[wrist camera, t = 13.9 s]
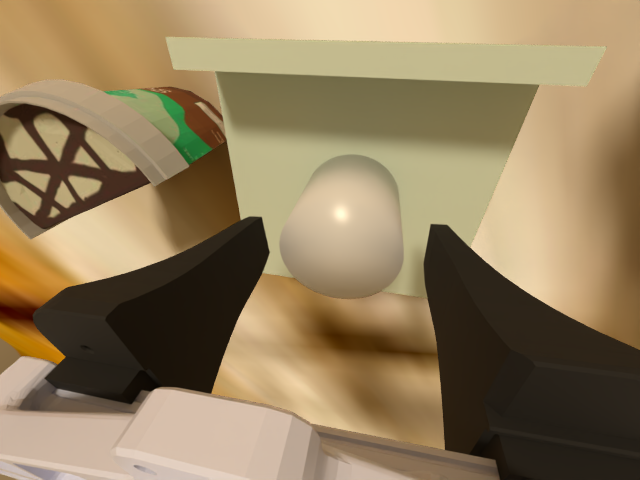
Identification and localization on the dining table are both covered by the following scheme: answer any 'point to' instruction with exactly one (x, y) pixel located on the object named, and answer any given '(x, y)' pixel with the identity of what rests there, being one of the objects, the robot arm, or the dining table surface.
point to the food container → (94, 146)
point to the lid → (377, 122)
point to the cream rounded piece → (345, 229)
